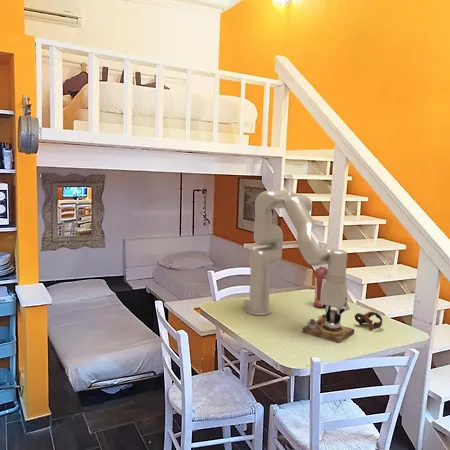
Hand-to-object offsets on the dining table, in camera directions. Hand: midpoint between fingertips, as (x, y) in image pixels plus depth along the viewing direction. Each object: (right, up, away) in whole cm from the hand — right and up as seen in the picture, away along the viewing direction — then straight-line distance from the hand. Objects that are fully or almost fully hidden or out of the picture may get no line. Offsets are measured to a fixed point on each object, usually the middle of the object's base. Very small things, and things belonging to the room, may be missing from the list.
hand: (332, 321), depth 185 cm
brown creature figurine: (+19, -6, +13) cm, 24 cm away
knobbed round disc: (0, -3, 0) cm, 3 cm away
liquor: (+4, -2, +41) cm, 41 cm away
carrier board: (-1, -6, +3) cm, 7 cm away
